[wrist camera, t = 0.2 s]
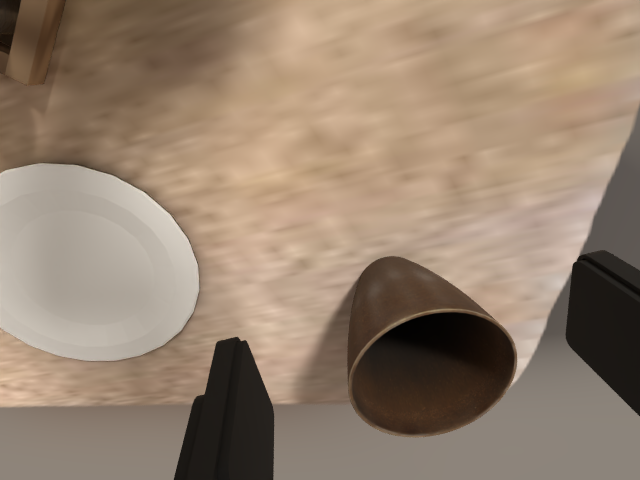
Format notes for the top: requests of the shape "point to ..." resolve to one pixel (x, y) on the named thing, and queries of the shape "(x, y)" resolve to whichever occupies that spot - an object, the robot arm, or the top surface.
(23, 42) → the socket block
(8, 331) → the plate
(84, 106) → the top surface
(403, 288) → the plant pot
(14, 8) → the peg
